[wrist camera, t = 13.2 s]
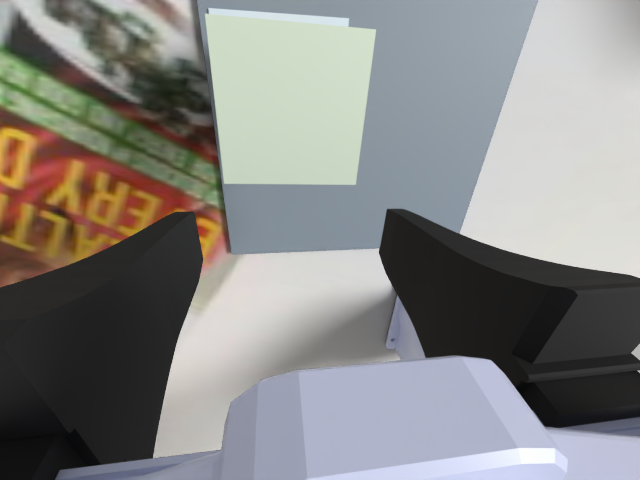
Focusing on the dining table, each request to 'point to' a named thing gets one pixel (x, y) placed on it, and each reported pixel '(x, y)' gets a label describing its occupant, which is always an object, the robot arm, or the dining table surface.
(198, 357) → the dining table surface
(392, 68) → the slate board
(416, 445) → the robot arm
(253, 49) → the sage block
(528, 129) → the dining table surface
